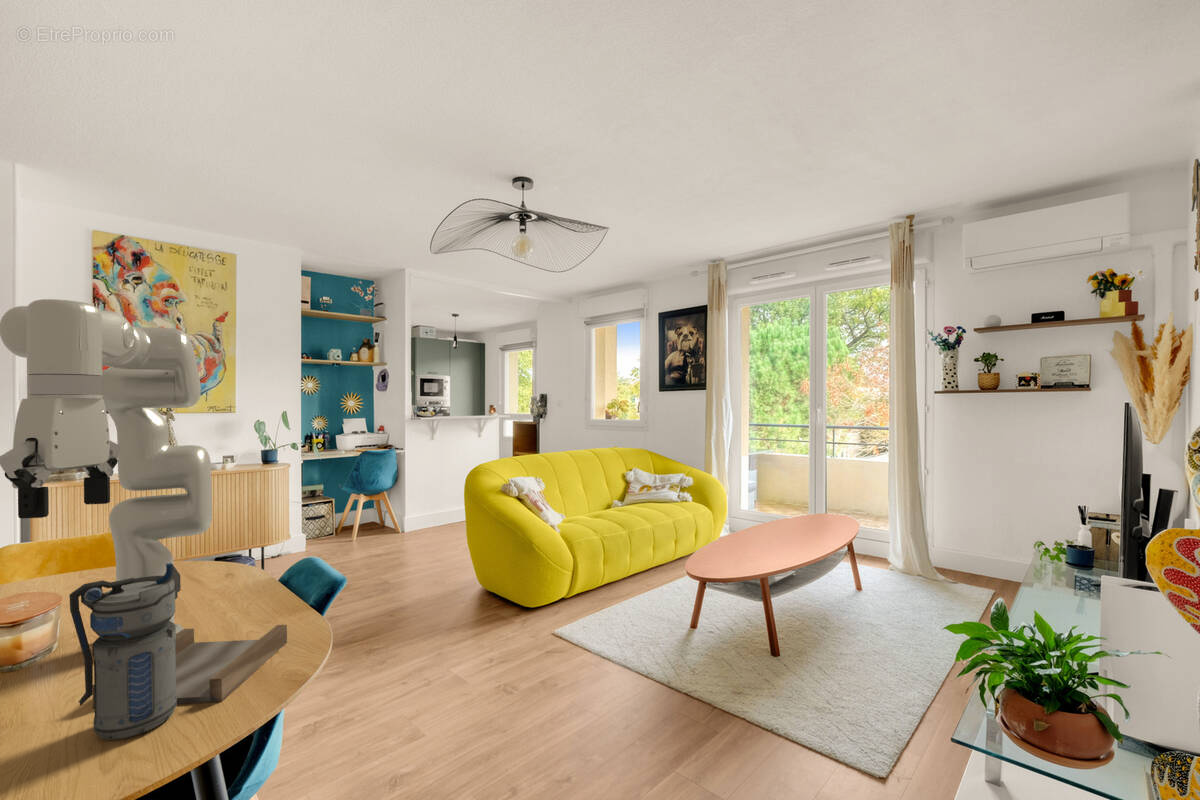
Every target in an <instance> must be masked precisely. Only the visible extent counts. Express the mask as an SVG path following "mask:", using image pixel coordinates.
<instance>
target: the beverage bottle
mask: <svg viewBox="0 0 1200 800" xmlns="http://www.w3.org/2000/svg"><path fill="white" fill-rule="evenodd" d="M123 585H124V586H123ZM103 588H106V589H110V590H108V591H105V592H104V591H103ZM181 589H182V588H181V574H180V572H179V571H178V570H177V568H176V566H175V565H174V563H173V564H172V563H169V564H166V573H165V575H164V576H147V577H140V578H135V579H134V578H130V579H125V580H120V581H116V580H115V581H107V580H98V581H94V582H92V581H91V582H87V583H84V584H82V585H81V586H79V587H78V588H77V589H75V590H73V591H72V592H71V593H70V594H69V612H70V615H71V618H72V622H73V625H74V629H75V632H76V636H77V640H78V641H79V645H80V649H81V652H82V655H83V660H84V661H83V662H84V683H85V684H84V685H85V686H84V687H85V690H84V691H85V693H84V694H83V696H82V697H81V698H80V700H79V701H78V703H79V706H82V705H84V703H86V701H88V699H90V698H91V697H93V685H94V696H95V708H94V716H93V731H94V733H95V734H96V736H98V737H99V738H100V739H102V740H106V741H107V740H110V741H111V740H120V739H121V740H122V739H126V738H131V737H134V735H135V736H138V735H141V734H143V733H145V732H148V731H150V730H153V729H154V728H157V727H159V726H161V724H163V723H164V722H166V721H167V720H168V719H169V718H171V717H172V715H173V713H174V712H175V710H176V709H177V705H178V704H177V697H176V651H175V639H176V625H175V624H176V623H175V622H174V623H172V622H170V619H171V618H172V616H173V615H174V616H175V613H176V600H177V599H178V593H179V592H180V591H181ZM80 603H82V604H83V605H84V606H86V607H87V608H88V609H91V612H90V616H89V619H90V620H89V621H90V622H89V623H90V625H89V626H90V628H91V630H92V631H93V632H94V633H95V634H96V635H98V637H97V638H96V640H94V641H93V642H92V645H91V646H92V647H90V645H89V640H88V637H87V634H86V630H85V626H84V623H83V619H82V614H81V611H80ZM91 649H92V652H91ZM137 734H138V735H137Z"/></svg>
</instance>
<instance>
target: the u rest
mask: <svg viewBox="0 0 1200 800" xmlns="http://www.w3.org/2000/svg"><path fill="white" fill-rule="evenodd" d="M287 626H288V624H276V625H275V626H274V627H273V628H272V629H270V630H269V631H268V632H266V633H265V634H264V635H263V636H261V637H260V638H259V639H246V640H243V639H242V640H222V641H221V640H220V641H218V640H217V641H198V642H196V641H195V628H183V630H181V631H180V632H178V633H177V634H176V639H175V651H176V697H177V705H180V704H181V705H182V704H201V703H203V704H204V703H216V702H217V703H219V702H220V703H221V702H223V701H225V700H226V699H227V698H228V697H229V695H231V694H232V693H233V692H234V691H235V690H237V689H238V687H240V686H241V685H242V684H243V683H244V682H245V681H246V680H248V679H249V678H250V677H251V676H253V674H254V673H255V672H257V671H258V670H259V669H260V668H261V667H262V666H263V665H264V664H265V663H266V661H267V660H268V659H269V660H270V659H271V658H272V657H273V656H274V655H275V654H277V653H278V652H279V651H280V650H281V649H282V648H283V647H284V646H286V643H288V627H287ZM280 648H281V649H280ZM279 649H280V650H279ZM276 652H277V653H276ZM269 660H268V661H269ZM268 661H267V662H268ZM261 665H262V666H261ZM260 666H261V667H260ZM259 667H260V668H259ZM258 668H259V669H258ZM257 669H258V670H257ZM256 670H257V671H256ZM92 709H95V696H94V684H93V695H92Z"/></svg>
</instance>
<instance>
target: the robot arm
mask: <svg viewBox="0 0 1200 800" xmlns="http://www.w3.org/2000/svg"><path fill="white" fill-rule="evenodd" d="M0 339H1V341H2V343H3V345H4V346H5V347H6V349H7V350H8V351H10V353H12V354H13V355H15V356H18V357H20V358H26V398H22V399H21V401H20V404H19V407H18V411H17V415H16V417H15V418H16V419H15V424H14V433H13V442H12V443H13V444H12V448H11V449H10V450H8V451H6V452H5V453H3V454H1V455H0V466H1V468H2V471H4V477H5V478H6V479H7V480H8V481H10V482H11V486H12V488H14V489H17V517H18V518H19V519H43V518H46V517H48V516H49V514H50V513H49V512H50V510H49V509H50V507H49V505H50V504H49V503H50V500H49V499H50V498H49V497H50V495H49V493H50V492H49V487H48V486H44V485H45V483H46V481H48V479H49V478H50V476H51V475H52V473H53V472H55V471H56V472H58V471H59V472H60V471H67V470H77V469H82V470H83V471H84V473H85V474H86V475H87V476H86V477H83V503H84V504H85V505H106V504H110V503H111V477H112V476H113V475H114V472H115V471H114V468H115V467H116V466H117V475H118V476H117V477H118V480H119V484H120V486H121V487H122V488H123V489H124V490H127V491H132V492H144V491H158V490H159V491H160V490H171V489H172V490H173V489H183V490H184V491H185V492H186V493H177V494H175V493H174V494H160V495H147V496H139V497H137V496H136V497H133V498H132V497H131V498H128V499H124V500H122V501H120V502H118V503H117V504H116V505H115V504H114V505H115V506H113V508H112V509H111V511H110V512H109V517H108V518H109V520H108V521H109V529H110V532H111V537H112V541H113V547H114V554H115V555H114V556H115V581H120V580H125V579H130V578H134V579H135V578H140V577H147V576H164V575H165V573H166V564H169V563H172V564H173V565H174V557H173V554H172V552H171V551H170V550H169V548H167V547H166V546H165V545H164V544H163V542H161V541H160V540H165V539H172V538H180V537H188V536H195V535H200V534H203V533H205V532H207V531H208V530H209V529H210V527H211V524H212V520H213V495H212V493H213V492H212V491H213V487H212V486H213V485H212V483H213V482H212V463H211V457H210V454H209V452H208V451H207V449H206V448H204V447H202V446H200V445H193V444H191V445H186V444H185V445H171V444H170V442H169V441H170V439H169V437H170V436H169V424H168V422H167V420H166V419H165V418H164V416H163V415H162V414H161V413H160V412H159V411H158V410H157V409H175V408H176V409H183V408H186V409H187V408H190V407H193V406H194V405H196V404H197V403H198V402H199V400H200V398H201V395H202V394H201V393H202V388H201V387H202V386H201V380H200V374H199V369H198V362H197V357H196V353H195V349H194V347H193V343H192V341H191V339H190V337H189V336H188V334H187V333H185V331H183V330H181V329H178V328H168V327H167V328H164V327H162V328H161V327H146V326H145V327H143V326H133V325H132V324H131V323H130V322H129V321H128V319H127V318H126V317H124V316H123V315H121V314H120V313H118V312H115V311H113V310H108V309H107V310H105V309H99V308H98V307H97V306H95V305H93V304H91V303H86V302H82V301H76V300H71V299H70V300H69V299H54V298H53V299H52V298H51V299H50V298H46V299H45V298H44V299H37V300H33V301H31V302H30V303H29V304H28V305H19V306H15V307H12V308H10V309H8V310H7V311H6V312H5V313H4V314H3V315H2V316H1V319H0ZM104 366H105V367H109V368H107V369H103V367H104ZM108 414H109V416H110V417H111V419H112V421H113V423H114V426H115V428H116V439H117V440H116V442H114V441H112V440H110V429H109V420H108ZM35 474H36V475H35ZM123 586H124V585H123ZM170 622H172V623H174V624H175V625H176V634H177V633H178V632H180V631H181V630H183V629H184V627H183V625H181V624H179V623H175V614H174V615H173V616H172V618H171V619H170Z"/></svg>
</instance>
